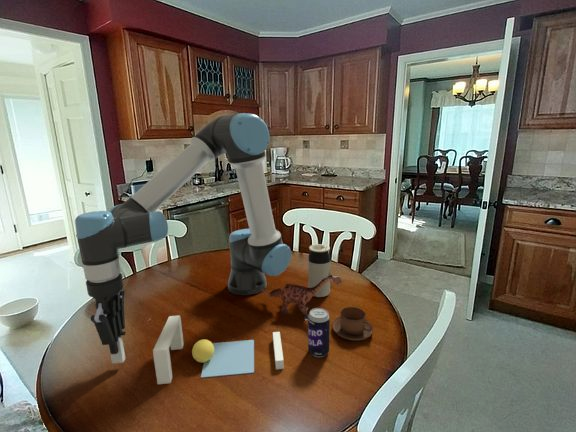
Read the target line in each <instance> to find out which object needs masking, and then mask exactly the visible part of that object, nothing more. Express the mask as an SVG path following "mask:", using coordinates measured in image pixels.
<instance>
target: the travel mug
mask: <svg viewBox="0 0 576 432" xmlns="http://www.w3.org/2000/svg"><path fill="white" fill-rule="evenodd" d="M308 248H309V254H308V288H312V287H315V286H316V285H317V284H318V283H320V282H321V281H322V279H324V278H326V277H327V276H330V275H331V255H330V253H329V252H330V250H331V247H330V246H329V245H326V244H321V243H317V244H311V245H309V247H308ZM330 294H331V281H329V282H326V283H325V284H324V285H323V286H322V287H321V288H320V289H319V291H318V292H317V293H316V294H315V295H313V296H312V297H316V298H323V297H327V296H329V295H330Z"/></svg>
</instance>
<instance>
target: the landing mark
mask: <svg viewBox="0 0 576 432" xmlns="http://www.w3.org/2000/svg"><path fill="white" fill-rule="evenodd" d="M211 343H212V344H213V346H214V354H213V356H212V358H211V359H210V360H208V361H207V362H203V366H202V371H201V375H200V378H201V379H202V378H204V379H205V378H214V377H224V376H234V375H235V376H236V375H247V374H255V340H254V339H248V340H247V339H246V340H245V339H244V340H236V341H225V342H224V341H222V342H211Z"/></svg>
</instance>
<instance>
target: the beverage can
mask: <svg viewBox="0 0 576 432" xmlns="http://www.w3.org/2000/svg"><path fill="white" fill-rule="evenodd" d="M330 319H331V318H330V315H329V311H328V310H327V309H325V308H322V307H314V308H312V309H310V311H309V314H308V319H307V331H308V332H307V339H308V340H307V350H308V352H309V353H310V354H311V355H312V356H313V357H315V358H323V357H325V356H327V355H328V354H329V352H330V331H331V330H330V328H331V327H330V322H331V320H330Z"/></svg>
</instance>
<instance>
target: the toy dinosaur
mask: <svg viewBox="0 0 576 432" xmlns="http://www.w3.org/2000/svg"><path fill="white" fill-rule="evenodd" d="M341 280H342V279H341V277H340V276H338V275H337V276H335V275H331V274H330V276H327V277H326V278H324V279H322V281H321V282H320V283H318V284H317V285H316V286H315V287H312V288H309V287H307V286H302V285H299V284H294V283H293V284H291V283H287V284H285V287H284V288H283V289H282V288H276V289H273V290H271V291H270V292H268V291H267V290H266V289H264V290H262V291H261V292H263V293H264V294H265V295H267V296H269V297H275V298H280V299H281V301H282V307H281V313H282V314H284V315H286V314H288V313H289V310H288V307H289V305H290V304H297V305H298V306H297V307H298V309H299V310H300V312H302V314H303V318H304V321H308V315H309V314H308V310H309V307H307V306H306V304H307V303H309V302H310V301H311V300H312V297H314V296H313V295H315V294H316V293H317V292H318V291H319V289H320V288H321V287H322V286H323V285H324V284H325V283H326V282H329V281H330V282H333V283H334V284H335V286H337V287H339V286H340V285H342V284H343V281H341Z"/></svg>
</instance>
